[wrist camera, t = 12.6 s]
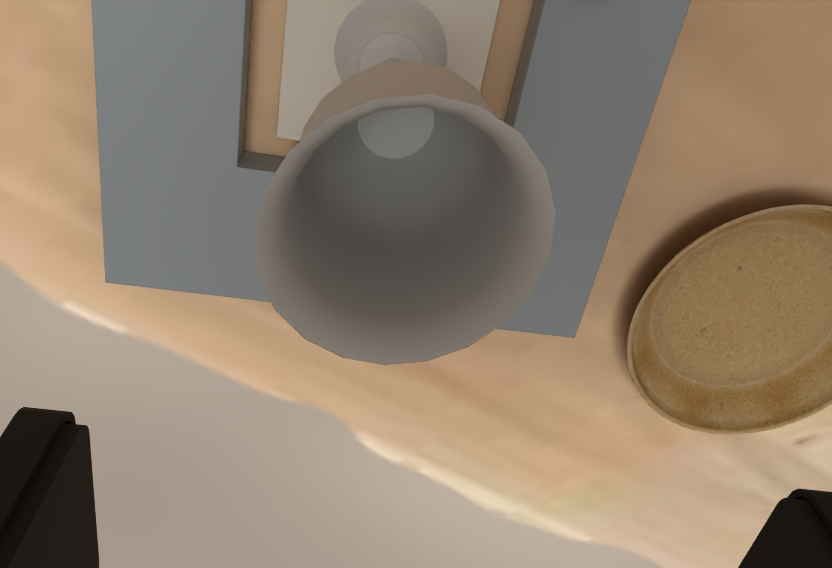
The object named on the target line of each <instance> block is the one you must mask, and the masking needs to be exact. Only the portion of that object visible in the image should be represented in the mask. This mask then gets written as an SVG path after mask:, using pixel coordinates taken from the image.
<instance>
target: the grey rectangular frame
mask: <svg viewBox="0 0 832 568" xmlns="http://www.w3.org/2000/svg"><path fill="white" fill-rule="evenodd" d="M91 2H92V22H93V42H94V62H95V82H96V102H97V122H98V142H99V162H100V182H101V202H102V222H103V242H104V262H105V282H106V283H114V284H123V285H131V286H140V287H148V288H157V289H165V290H174V291H182V292H191V293H199V294H207V295H216V296H224V297H233V298H241V299H250V300H258V301H267V302H271V300H270V298H269V296H268V294H267V292H266V290H265V288H264V286H263V284H262V282H261V280H260V278H259V276H258V273H257V263H256V253H255V243H254V228H255V224H256V220H257V216H258V212H259V209H260V205H261V201H262V197H263V193H264V189H265V188H266V186H267V185H268V183H269V182H270V180H271V179H272V177H273V175H274V174H275V172H276V171H277V169H278V168H279V166H280V165H281V163H282V162H283V160H284V159H285V157H280V156H273V155H266V154H259V153H252V152H245V151H244V137H245V119H246V101H247V84H248V66H249V48H250V30H251V12H252V0H91ZM690 2H691V0H534V2H533V6H532V10H531V15H530V19H529V23H528V27H527V31H526V35H525V39H524V43H523V48H522V52H521V56H520V60H519V64H518V68H517V72H516V77H515V81H514V85H513V89H512V93H511V97H510V101H509V106H508V110H507V114H506V118H505V122H504V123H506V124H507V125H509V126H511V127H512V128H514V129H515V130H517V131H518V132H520V133H521V135H522V136H523V138H524V139H525V141H526V142H527V143H528V145H529V146H530V148H531V149H532V151H533V152H534V154H535V155H536V156H537V158H538V159H539V161H540V162H541V164H542V165H543V167H544V168H545V169H546V172H547V176H548V181H549V185H550V189H551V194H552V198H553V203H554V207H555V211H556V215H555V223H554V230H553V237H552V244H551V252H550V256H549V258H548V260H547V262H546V264H545V266H544V268H543V270H542V272H541V274H540V276H539V278H538V280H537V282H536V284H535V287H534V289H533V291H532V293H531V294H530V295H529V296H528V297H527V298H526V299H525V300H524V301H523V303H522V304H521V305H520V306H519V307H518V308H517V309H516V310H515V311H514V312H513V314H512V315H511V316H510V317H509V318H508V319H507V320H506V321H505V322H504V323H503V324H502V325H501V326H499V327H498V328H496V329H504V330H512V331H521V332H529V333H538V334H546V335H555V336H563V337H572V338H575V335H576V332H577V329H578V326H579V323H580V320H581V318H582V315H583V312H584V309H585V306H586V303H587V300H588V297H589V294H590V291H591V289H592V286H593V283H594V280H595V277H596V274H597V271H598V268H599V265H600V262H601V260H602V257H603V254H604V251H605V248H606V245H607V242H608V239H609V236H610V233H611V231H612V228H613V225H614V222H615V219H616V216H617V213H618V210H619V207H620V204H621V202H622V199H623V196H624V193H625V190H626V187H627V184H628V181H629V178H630V175H631V173H632V170H633V167H634V164H635V161H636V158H637V155H638V152H639V149H640V146H641V144H642V141H643V138H644V135H645V132H646V129H647V126H648V123H649V120H650V118H651V115H652V112H653V109H654V106H655V103H656V100H657V97H658V94H659V91H660V89H661V86H662V83H663V80H664V77H665V74H666V71H667V68H668V65H669V62H670V60H671V57H672V54H673V51H674V48H675V45H676V42H677V39H678V36H679V33H680V31H681V28H682V25H683V22H684V19H685V16H686V13H687V10H688V7H689V4H690Z"/></svg>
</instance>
